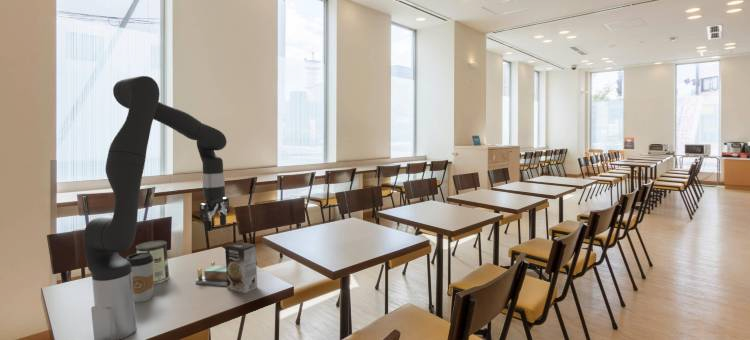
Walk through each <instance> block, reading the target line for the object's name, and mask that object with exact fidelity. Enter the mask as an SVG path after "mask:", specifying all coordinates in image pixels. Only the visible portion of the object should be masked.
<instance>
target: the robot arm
mask: <svg viewBox="0 0 750 340" xmlns="http://www.w3.org/2000/svg"><path fill="white" fill-rule="evenodd" d="M112 92H113V93H112V94H113V96H114V99H115V100H116V102H117V103H118V104H119V105H121V106H122V107H123V108H126V109H128V111H127V112H128V113H127V115H126V119H125V121H124V123H123V124H122V126H121V127H120V129H119V131H118V132H117V134H116V135H115V136H114V138H113V140H112V141H111V143H110V146H109V148H108V153H107V158H106V162H105V174H106V178H107V180H108V182H109V185H110V187H111V190H112V192H113V195H114V209H113V215H112V217H95V218H94V219H91V220H90V221H89V222H88V223H87V225H86V226H85V228H84V231H83V248H84V254H85V259H86V266H87V268H88V270H89V272H90V273H91V281H92V291H93V302H94V303H93V304H94V305H93V306H91V309H90V310H91V311H90V312H91V321H92V330H93V331H92V332H93V340H121V339H122V340H123V339H125V338H127V337H129V336H131V335H133V334H134V333H135V332H136V331H137V320H136V319H137V318H136V309H135V308H136V307H135V306H136V305H135V302H134V293H133V280H132V268H131V263H130V262H129V261H128V260H126V258H125V257H122V256H121V255H120V254H119V253H124V252H126V251H128V250H129V249H130V248H131V247H132V246H133V244H134V241H135V239H136V236H137V230H138V229H137V227H138V226H137V225H138V213H139V211H138V210H139V198H140V192H141V185H142V179H143V174H144V169H145V163H146V159H147V151H148V150H147V149H148V144H149V139H150V136H151V135H150V134H151V130H152V125H153V121H157V122H159V123H161V124H163V125H165V126H167V127H168V128H171V129H172V130H174V131H176V132H178V133H179V134H181V135H183V136H184V137H186V138H188V139H189V140H192V141H196V147H197V150H198V154H199V156H200V159H201V163H202V193H203V199H205V203H199V220H200V221H204V228H205V229H204V230H205V231H206V232H212V230H213V225H212V224H213V222H212V218H213V216H215V214H216V213H218V214H219V225H220V226H226V225H227V215H228V214H229V213H230V210H231V209H230V201H229V197H226V187H225V186H226V184H225V182H226V181H225V176H224V162H223V158H222V157H219V156H218V155H216V153H215V151H221V150H223V149H224V148H225V147H226V145H227V144H228V143H227V137H226V136H225V134H224V133H223V132H222V131H220V130H219V129H217V128H214V127H213V126H210V125H207V124H205V123H203V122H201V121H200V120H199V119H197V118H195V117H194V116H192V115H191V114H189V113H187V112H186V111H183V110H182V109H178V108H175V107H172V106H170V105H167V104H165V103H162V102H160V96H161V95H160V87H159V85H158V83H157V82H156V80H155V79H154V78H152V77H151V76H148V75H137V76H133V77H132V76H131V77H126V78H123V79H120V80H118V81H116V83H115V84H114V86H113V88H112Z"/></svg>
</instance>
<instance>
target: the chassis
mask: <svg viewBox="0 0 750 340" xmlns="http://www.w3.org/2000/svg"><path fill="white" fill-rule="evenodd" d="M210 265H211V266H216V261H215V260H213V261H211V262H210ZM211 266H210V267H211ZM196 270H197V279H195V284H196V285H207V286H214V287H215V286H217V287H227V280H218V279H205V275H203V273H202V272H203V270H202V268H201V267H200V268H197V269H196Z"/></svg>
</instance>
